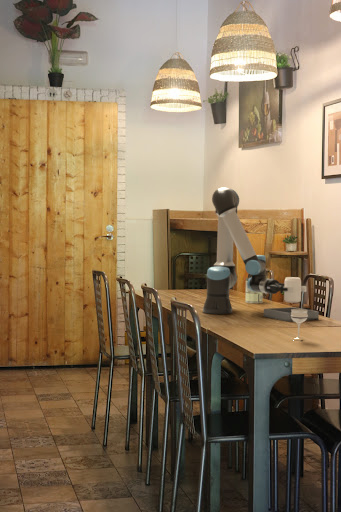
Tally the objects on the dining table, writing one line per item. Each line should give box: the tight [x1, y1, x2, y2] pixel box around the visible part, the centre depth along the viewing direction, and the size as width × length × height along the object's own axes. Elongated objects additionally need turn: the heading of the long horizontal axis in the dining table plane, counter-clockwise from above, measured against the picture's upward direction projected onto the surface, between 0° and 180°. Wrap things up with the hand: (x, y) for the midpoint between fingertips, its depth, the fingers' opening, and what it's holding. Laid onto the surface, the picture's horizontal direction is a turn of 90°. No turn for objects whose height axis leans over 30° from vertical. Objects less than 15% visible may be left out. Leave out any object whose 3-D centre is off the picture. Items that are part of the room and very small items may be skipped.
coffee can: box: [244, 277, 264, 304], centre depth 422 cm, size 10×10×14 cm
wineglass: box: [291, 308, 309, 339], centre depth 287 cm, size 7×7×12 cm
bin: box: [263, 306, 319, 323], centre depth 354 cm, size 19×19×4 cm
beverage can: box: [283, 276, 302, 304], centre depth 353 cm, size 8×8×12 cm
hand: (299, 289), depth 349 cm, fingers closed on beverage can, 8 cm apart
